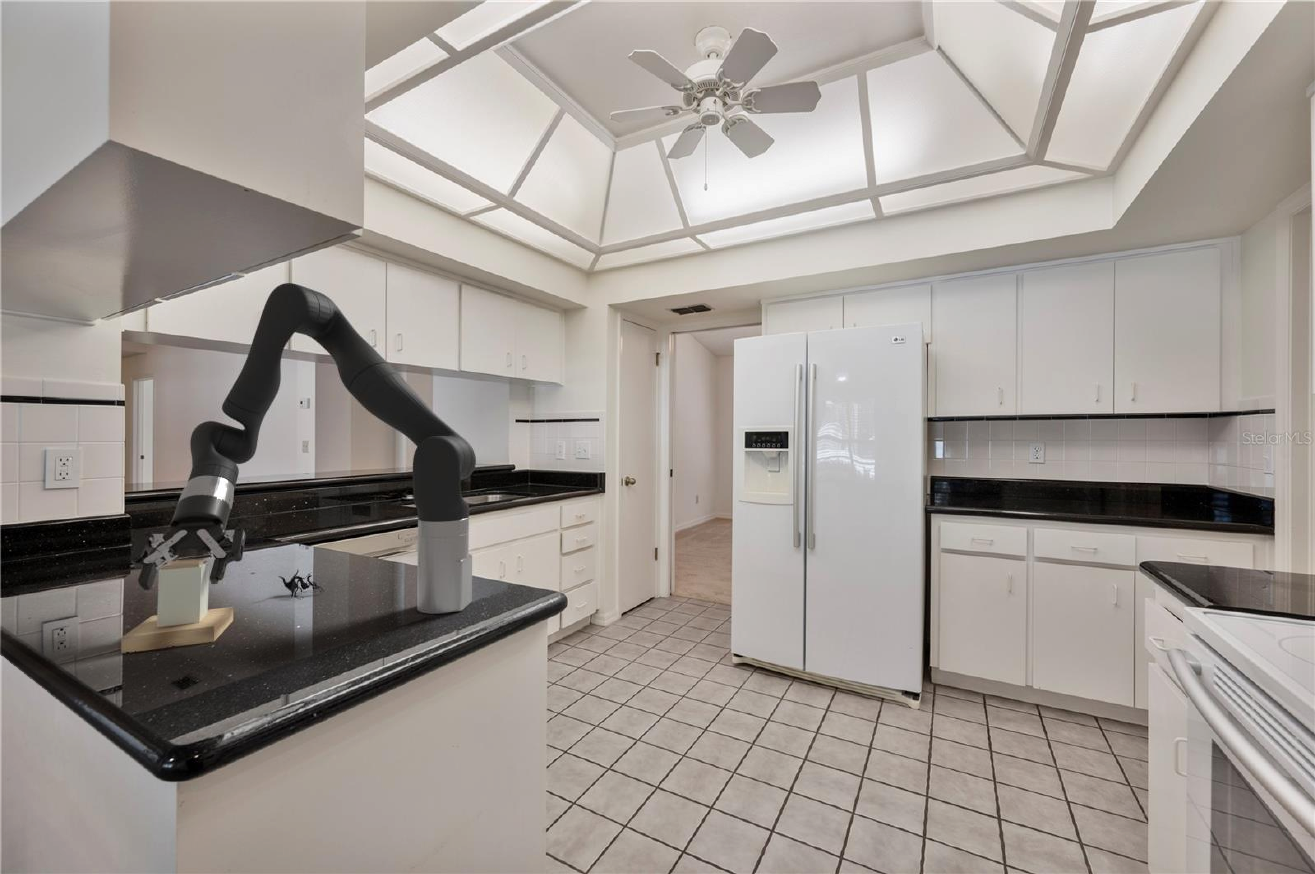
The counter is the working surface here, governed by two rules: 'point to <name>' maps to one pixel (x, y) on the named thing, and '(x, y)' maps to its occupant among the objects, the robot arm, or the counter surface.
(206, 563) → the pale green upright block
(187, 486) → the robot arm
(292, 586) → the creature
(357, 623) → the counter surface
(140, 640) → the base slab
